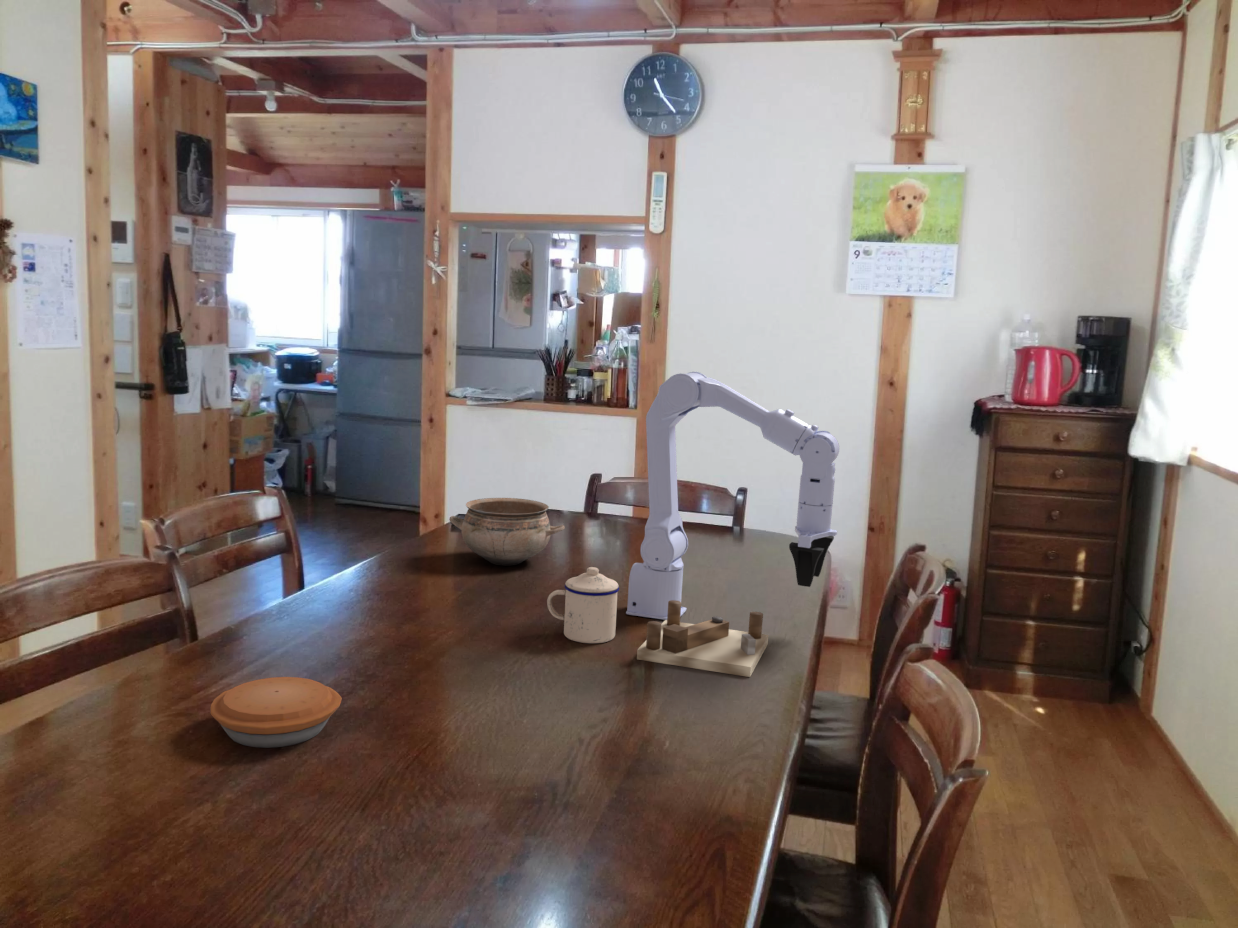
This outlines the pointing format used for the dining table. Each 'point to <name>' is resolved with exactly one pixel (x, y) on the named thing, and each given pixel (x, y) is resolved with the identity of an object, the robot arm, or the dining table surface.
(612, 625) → the teacup with lid
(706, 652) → the stool seat
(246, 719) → the pie
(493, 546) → the cooking pot
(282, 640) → the dining table surface
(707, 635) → the folding leg
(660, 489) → the robot arm
